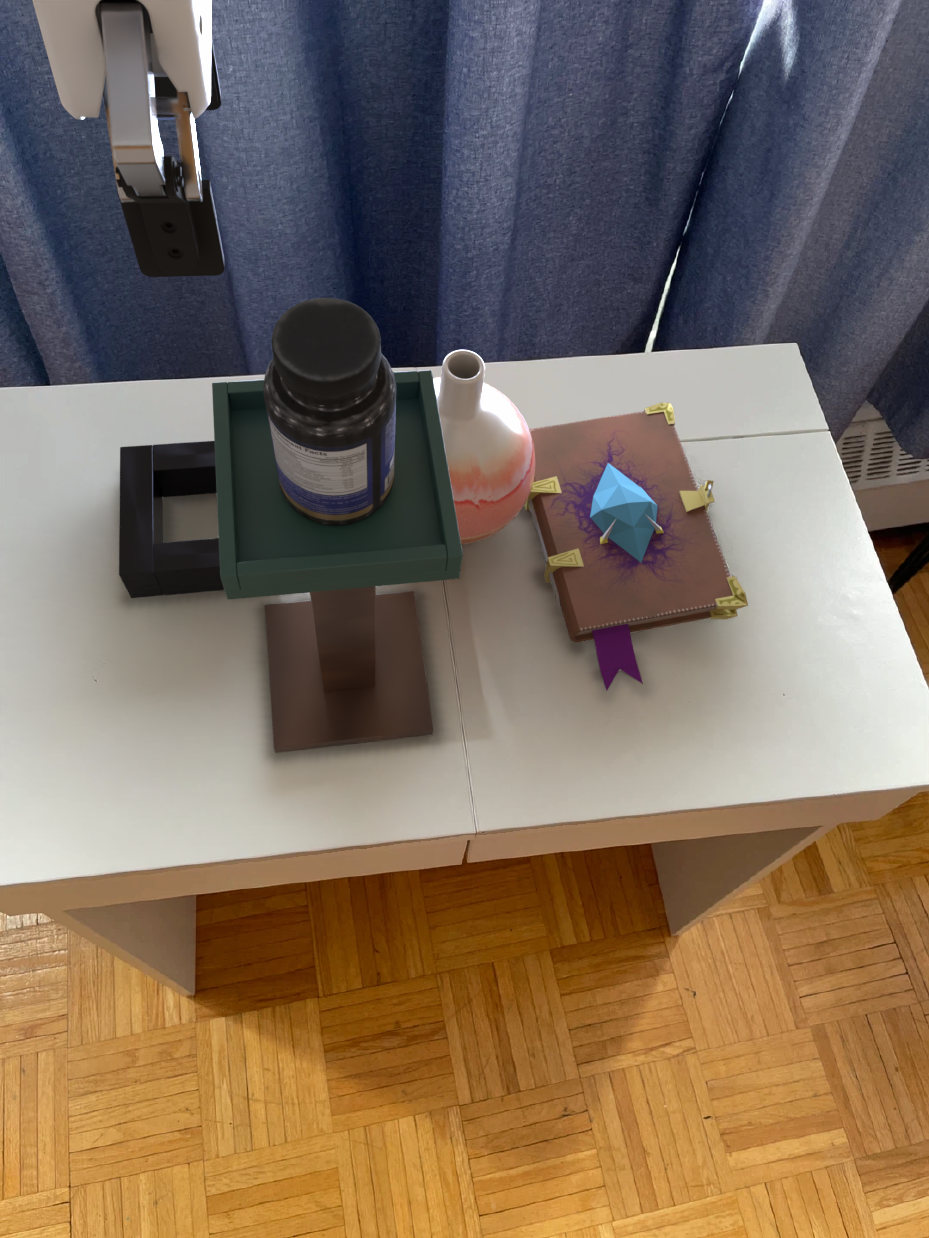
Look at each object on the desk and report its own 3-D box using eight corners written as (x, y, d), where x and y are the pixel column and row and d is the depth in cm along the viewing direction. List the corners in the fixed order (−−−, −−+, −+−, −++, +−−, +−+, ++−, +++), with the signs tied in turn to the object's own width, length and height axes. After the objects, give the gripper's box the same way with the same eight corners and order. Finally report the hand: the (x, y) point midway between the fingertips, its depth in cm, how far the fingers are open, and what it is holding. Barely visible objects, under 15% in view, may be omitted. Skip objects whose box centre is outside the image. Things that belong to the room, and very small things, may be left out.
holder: (130, 598, 75) (118, 575, 71) (131, 474, 80) (119, 446, 76) (282, 585, 77) (277, 561, 73) (273, 464, 82) (268, 436, 78)
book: (576, 701, 75) (586, 678, 71) (507, 451, 85) (511, 417, 81) (767, 664, 77) (788, 640, 73) (677, 424, 87) (690, 389, 83)
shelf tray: (227, 600, 48) (220, 577, 45) (218, 411, 53) (211, 382, 50) (459, 579, 49) (463, 555, 47) (429, 398, 54) (432, 369, 52)
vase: (498, 426, 86) (526, 280, 70) (544, 552, 80) (586, 425, 64) (351, 453, 83) (346, 307, 67) (389, 585, 78) (393, 461, 62)
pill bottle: (333, 416, 52) (322, 262, 42) (417, 477, 51) (427, 333, 41) (254, 485, 50) (224, 339, 40) (341, 551, 48) (331, 418, 38)
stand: (275, 752, 71) (227, 600, 48) (266, 611, 76) (218, 411, 53) (432, 734, 72) (459, 579, 49) (413, 597, 77) (429, 398, 54)
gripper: (-59, -536, 27) (99, 51, 42) (-153, -223, 19) (80, 349, 35) (210, -513, 28) (269, 52, 43) (217, -208, 20) (284, 342, 36)
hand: (184, 184), depth 39 cm, fingers open, 9 cm apart
